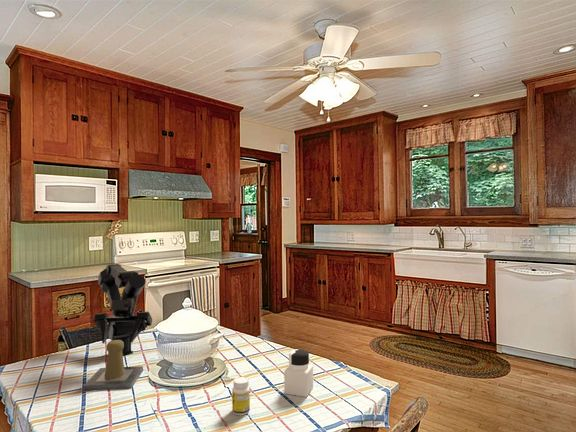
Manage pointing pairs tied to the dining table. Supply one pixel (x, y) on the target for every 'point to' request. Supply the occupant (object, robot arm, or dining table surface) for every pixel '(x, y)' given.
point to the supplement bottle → (241, 396)
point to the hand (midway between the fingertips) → (117, 342)
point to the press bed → (122, 382)
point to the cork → (114, 360)
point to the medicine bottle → (298, 374)
